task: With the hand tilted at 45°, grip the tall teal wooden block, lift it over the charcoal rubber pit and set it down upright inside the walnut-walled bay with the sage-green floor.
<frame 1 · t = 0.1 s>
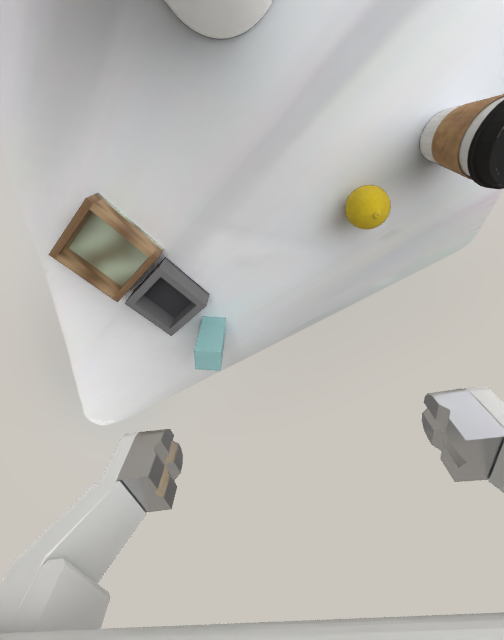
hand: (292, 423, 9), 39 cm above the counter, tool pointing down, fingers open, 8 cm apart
lemon: (357, 200, 42), on the counter
teal block: (214, 326, 55), on the counter
coffee cup: (441, 135, 37), on the counter
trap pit: (171, 292, 51), on the counter
walled bay: (113, 247, 46), on the counter
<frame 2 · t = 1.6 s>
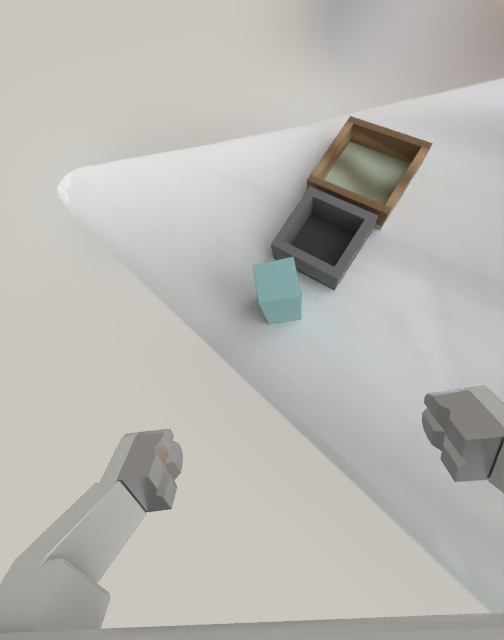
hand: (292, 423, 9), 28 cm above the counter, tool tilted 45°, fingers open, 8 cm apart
teal block: (282, 306, 39), on the counter
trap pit: (321, 245, 40), on the counter
walled bay: (362, 181, 41), on the counter
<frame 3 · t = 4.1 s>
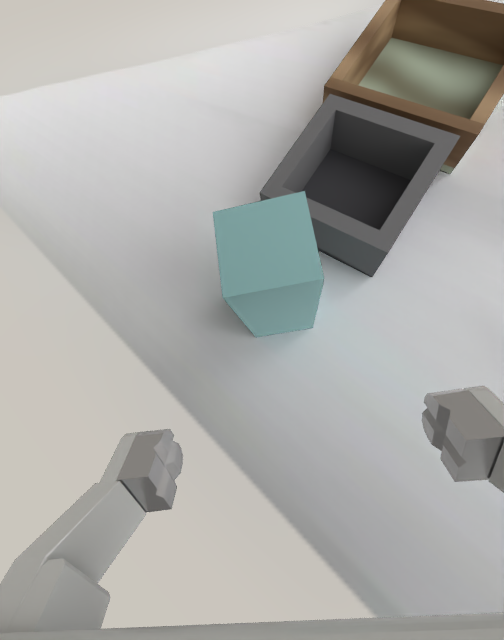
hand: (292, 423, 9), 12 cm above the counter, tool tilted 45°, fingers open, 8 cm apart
teal block: (279, 305, 22), on the counter
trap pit: (346, 202, 23), on the counter
walled bay: (414, 98, 25), on the counter
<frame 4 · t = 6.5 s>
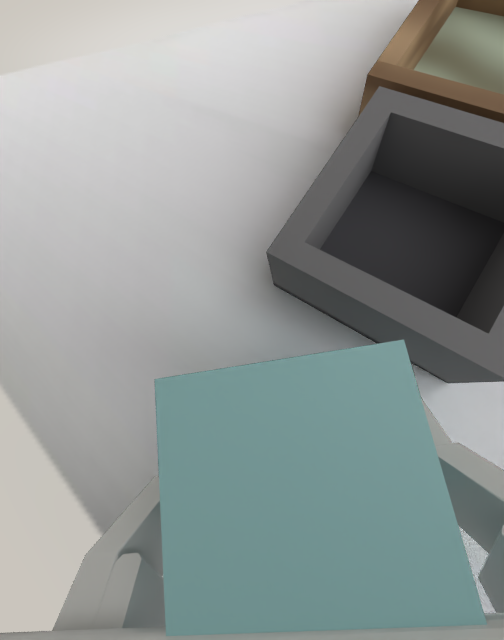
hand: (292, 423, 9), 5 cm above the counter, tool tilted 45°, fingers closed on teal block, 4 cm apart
teal block: (297, 423, 14), on the counter, touching gripper
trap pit: (399, 254, 15), on the counter
walled bay: (495, 94, 16), on the counter
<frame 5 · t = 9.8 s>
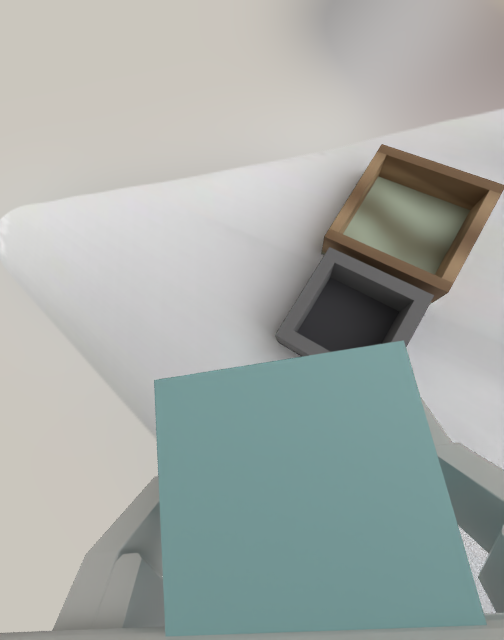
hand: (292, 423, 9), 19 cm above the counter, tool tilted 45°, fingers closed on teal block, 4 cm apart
teal block: (297, 424, 14), point 14 cm above the counter, touching gripper
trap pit: (345, 325, 28), on the counter
walled bay: (398, 232, 30), on the counter
when the fingers open (7 cm above the counter, at t = 13.2 s): teal block stays where it is, resting on walled bay.
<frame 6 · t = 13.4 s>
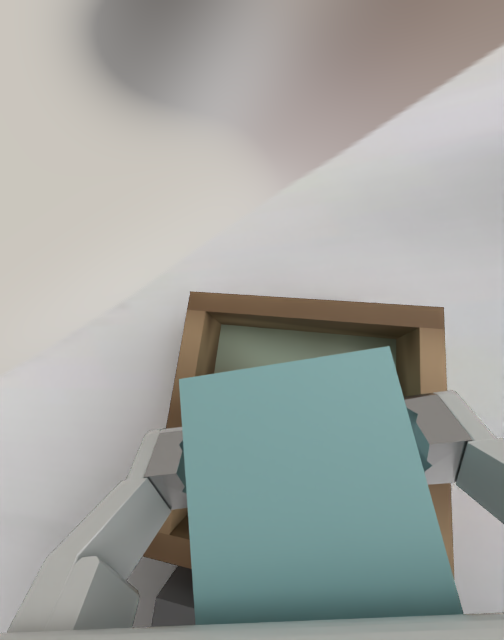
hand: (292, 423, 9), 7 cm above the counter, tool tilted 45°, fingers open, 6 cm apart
teal block: (297, 420, 15), point 1 cm above the counter, touching walled bay
walled bay: (296, 420, 15), on the counter
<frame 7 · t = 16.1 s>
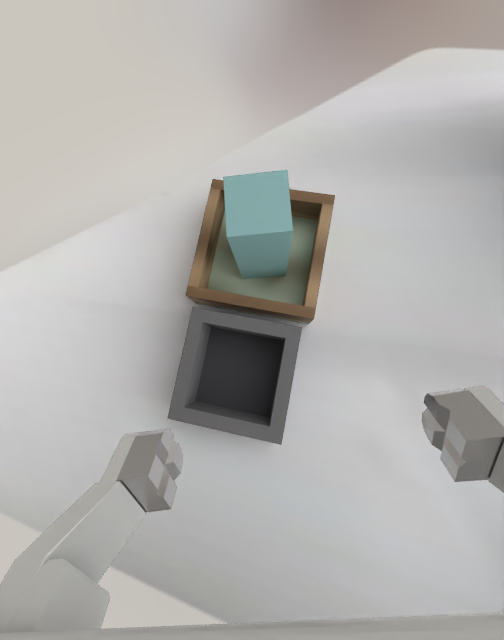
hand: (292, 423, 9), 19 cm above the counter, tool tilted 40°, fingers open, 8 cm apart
teal block: (262, 256, 29), point 1 cm above the counter, touching walled bay
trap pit: (240, 370, 28), on the counter
walled bay: (262, 259, 29), on the counter
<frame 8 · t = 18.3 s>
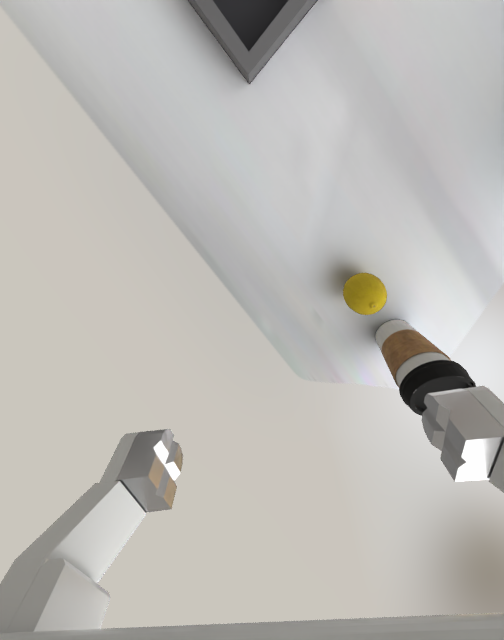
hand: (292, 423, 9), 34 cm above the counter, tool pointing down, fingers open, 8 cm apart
lemon: (355, 282, 43), on the counter
coffee cup: (392, 333, 48), on the counter
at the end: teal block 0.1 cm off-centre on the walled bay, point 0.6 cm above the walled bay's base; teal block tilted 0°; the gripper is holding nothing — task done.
